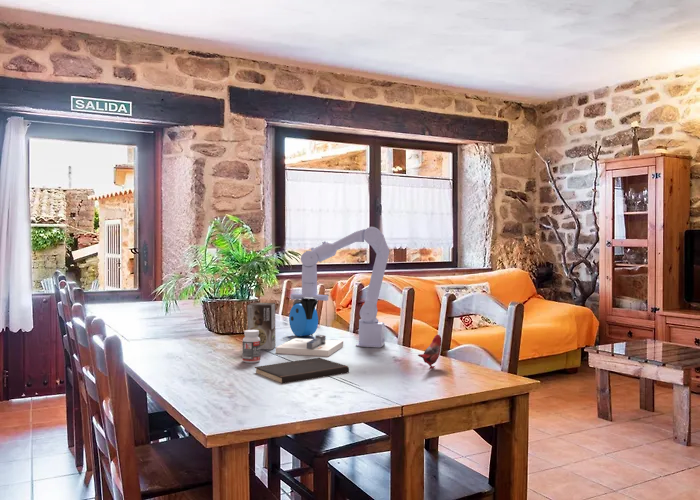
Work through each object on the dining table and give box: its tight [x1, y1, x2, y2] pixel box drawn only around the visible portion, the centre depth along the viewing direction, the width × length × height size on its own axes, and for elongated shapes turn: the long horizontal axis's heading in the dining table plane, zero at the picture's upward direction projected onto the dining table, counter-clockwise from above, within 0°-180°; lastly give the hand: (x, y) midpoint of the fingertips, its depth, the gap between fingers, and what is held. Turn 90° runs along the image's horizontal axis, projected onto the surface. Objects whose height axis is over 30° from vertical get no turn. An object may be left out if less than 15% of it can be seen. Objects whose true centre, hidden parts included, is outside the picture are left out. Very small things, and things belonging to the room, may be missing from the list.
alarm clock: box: [288, 299, 319, 338], centre depth 237 cm, size 13×6×15 cm, turn 38°
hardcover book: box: [254, 357, 350, 385], centre depth 174 cm, size 16×23×2 cm
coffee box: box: [246, 302, 277, 350], centre depth 211 cm, size 9×6×16 cm
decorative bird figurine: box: [417, 334, 442, 370], centre depth 177 cm, size 3×18×10 cm, turn 149°
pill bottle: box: [241, 329, 261, 364], centre depth 188 cm, size 6×6×10 cm
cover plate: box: [275, 337, 344, 357], centre depth 208 cm, size 19×19×2 cm
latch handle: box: [307, 334, 327, 349], centre depth 205 cm, size 15×4×2 cm, turn 165°
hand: (309, 319), depth 219 cm, fingers closed
